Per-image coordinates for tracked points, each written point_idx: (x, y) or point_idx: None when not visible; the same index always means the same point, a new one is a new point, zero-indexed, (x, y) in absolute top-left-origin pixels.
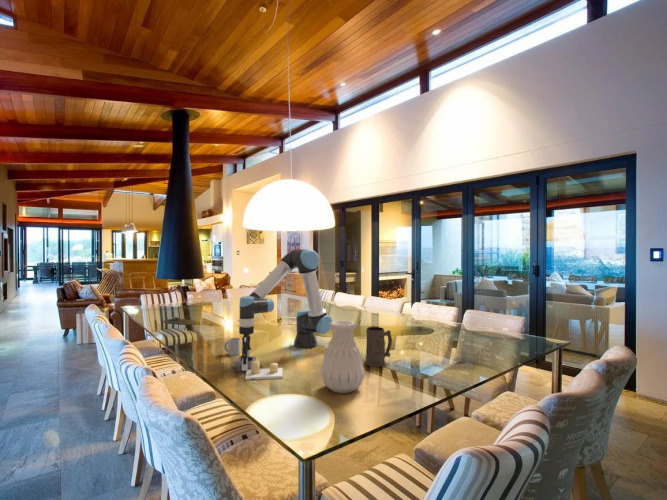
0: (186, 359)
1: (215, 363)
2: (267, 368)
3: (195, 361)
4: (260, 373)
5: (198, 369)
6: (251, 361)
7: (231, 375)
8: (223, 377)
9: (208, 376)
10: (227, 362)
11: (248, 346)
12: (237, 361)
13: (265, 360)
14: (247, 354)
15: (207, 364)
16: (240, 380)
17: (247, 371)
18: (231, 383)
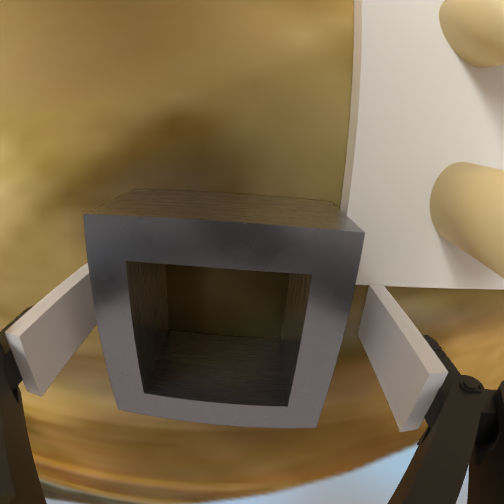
0: (71, 498)
1: (97, 450)
2: (363, 55)
3: (86, 489)
4: (486, 157)
5: (199, 500)
6: (354, 277)
7: (374, 383)
8: (388, 415)
9: (331, 471)
10: (68, 402)
11: (5, 407)
12: (291, 424)
13: (12, 105)
14: (56, 333)
15: (119, 474)
16: (490, 311)
17: (400, 280)
18: (499, 353)
